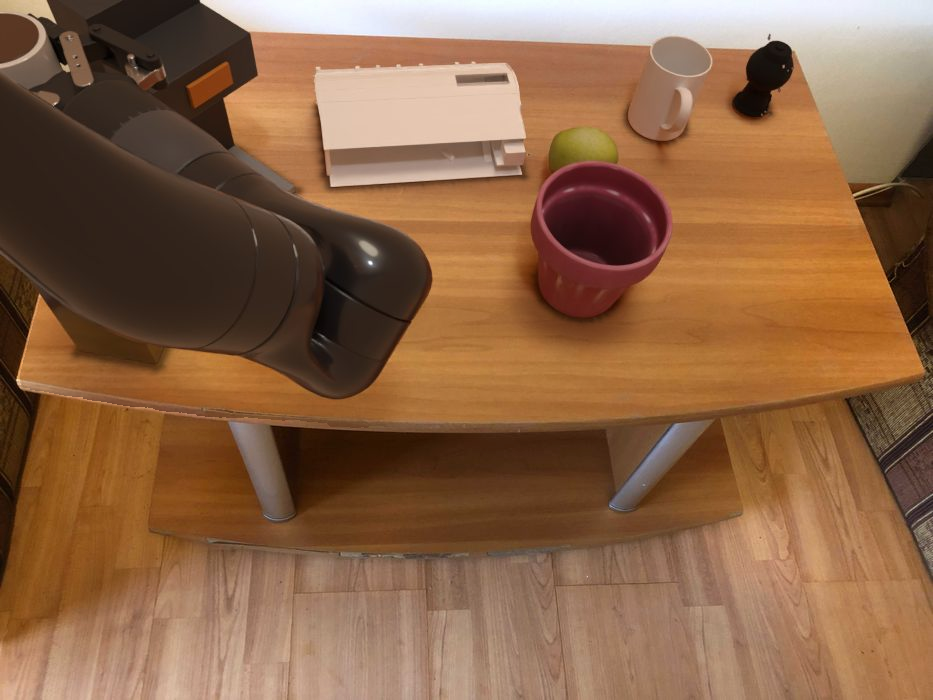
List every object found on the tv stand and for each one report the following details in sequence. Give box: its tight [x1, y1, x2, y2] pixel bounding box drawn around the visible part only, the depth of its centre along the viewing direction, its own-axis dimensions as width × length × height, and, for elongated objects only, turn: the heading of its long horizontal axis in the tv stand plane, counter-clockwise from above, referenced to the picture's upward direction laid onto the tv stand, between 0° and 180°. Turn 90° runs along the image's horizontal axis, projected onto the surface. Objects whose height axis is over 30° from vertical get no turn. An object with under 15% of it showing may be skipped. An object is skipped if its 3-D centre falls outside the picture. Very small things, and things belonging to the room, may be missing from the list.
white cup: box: [0, 10, 64, 90], centre depth 52 cm, size 6×6×9 cm
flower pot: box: [530, 161, 674, 319], centre depth 79 cm, size 14×14×13 cm
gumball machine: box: [732, 33, 795, 119], centre depth 99 cm, size 7×6×10 cm
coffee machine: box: [45, 0, 296, 194], centre depth 77 cm, size 16×12×24 cm
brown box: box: [26, 276, 165, 365], centre depth 69 cm, size 8×8×19 cm
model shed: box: [312, 61, 527, 188], centre depth 92 cm, size 25×15×7 cm, turn 100°
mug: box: [627, 35, 713, 142], centre depth 95 cm, size 12×8×10 cm, turn 0°
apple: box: [548, 126, 619, 175], centre depth 90 cm, size 8×9×8 cm
